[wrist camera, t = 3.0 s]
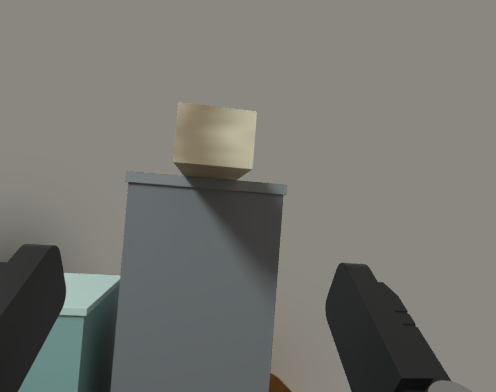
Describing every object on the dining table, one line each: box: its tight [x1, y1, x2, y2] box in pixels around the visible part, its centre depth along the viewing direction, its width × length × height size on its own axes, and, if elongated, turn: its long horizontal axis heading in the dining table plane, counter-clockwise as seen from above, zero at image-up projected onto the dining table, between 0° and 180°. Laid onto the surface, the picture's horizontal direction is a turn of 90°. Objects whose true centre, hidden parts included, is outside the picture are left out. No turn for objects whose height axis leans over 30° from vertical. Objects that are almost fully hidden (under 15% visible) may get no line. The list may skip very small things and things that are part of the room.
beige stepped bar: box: [173, 102, 257, 180], centre depth 28 cm, size 6×22×5 cm, turn 7°
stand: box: [110, 171, 287, 392], centre depth 32 cm, size 12×13×32 cm
